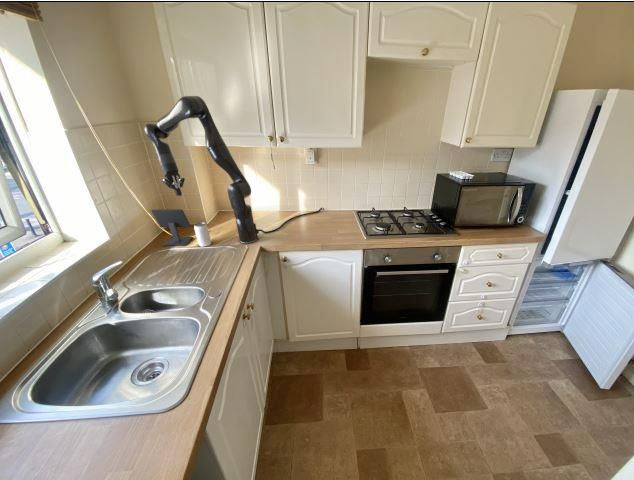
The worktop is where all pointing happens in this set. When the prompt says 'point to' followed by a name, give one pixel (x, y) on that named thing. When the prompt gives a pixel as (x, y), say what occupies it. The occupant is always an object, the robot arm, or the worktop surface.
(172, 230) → the monitor stand
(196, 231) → the can
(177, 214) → the screen
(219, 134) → the robot arm
